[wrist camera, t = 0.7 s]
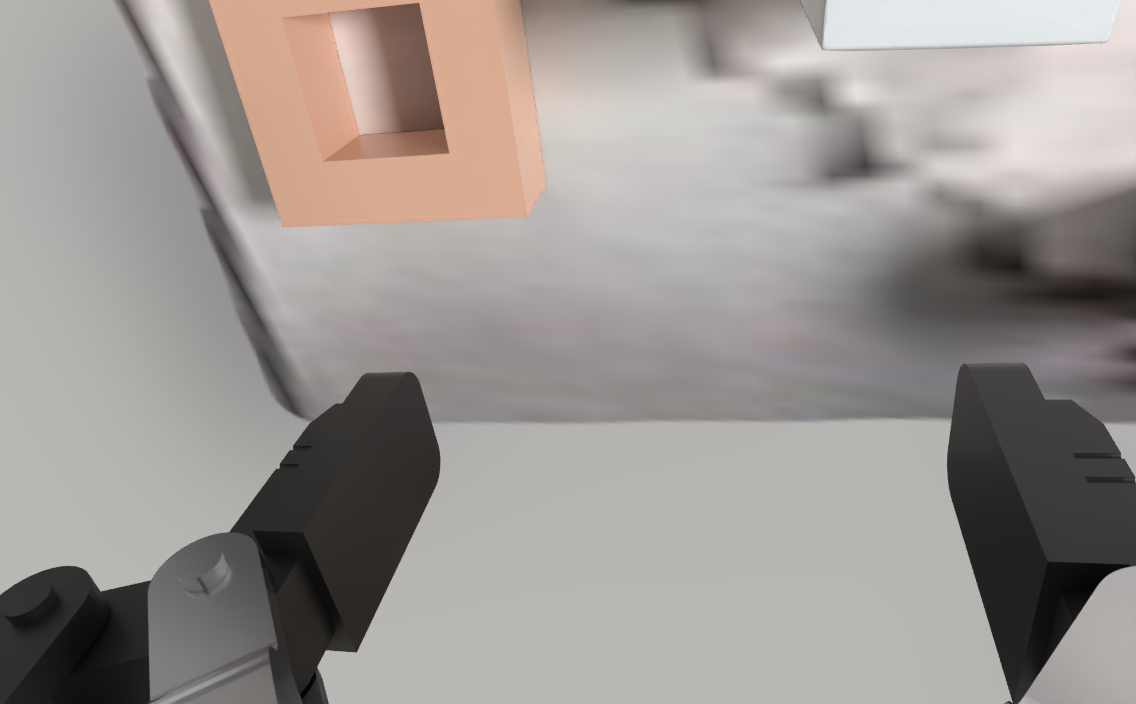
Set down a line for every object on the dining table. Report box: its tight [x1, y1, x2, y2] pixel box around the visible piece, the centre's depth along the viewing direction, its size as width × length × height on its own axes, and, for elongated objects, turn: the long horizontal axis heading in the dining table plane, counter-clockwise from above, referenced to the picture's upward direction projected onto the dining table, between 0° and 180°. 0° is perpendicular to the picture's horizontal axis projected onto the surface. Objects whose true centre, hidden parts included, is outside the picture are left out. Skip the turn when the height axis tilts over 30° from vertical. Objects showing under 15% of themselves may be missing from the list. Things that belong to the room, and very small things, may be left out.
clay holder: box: [209, 0, 546, 227], centre depth 35 cm, size 12×12×4 cm
